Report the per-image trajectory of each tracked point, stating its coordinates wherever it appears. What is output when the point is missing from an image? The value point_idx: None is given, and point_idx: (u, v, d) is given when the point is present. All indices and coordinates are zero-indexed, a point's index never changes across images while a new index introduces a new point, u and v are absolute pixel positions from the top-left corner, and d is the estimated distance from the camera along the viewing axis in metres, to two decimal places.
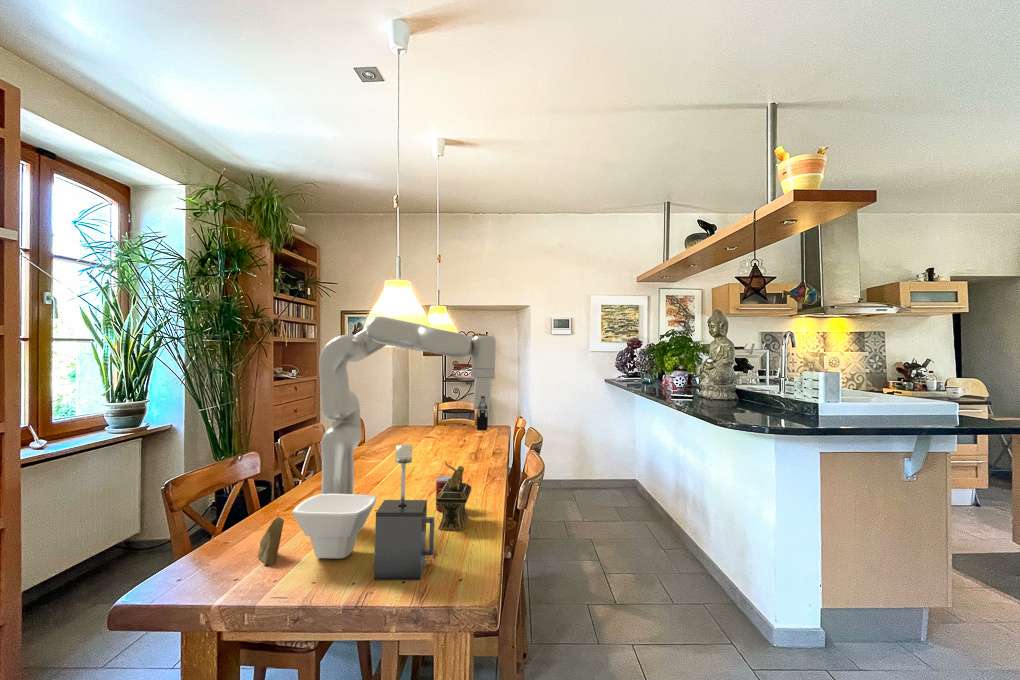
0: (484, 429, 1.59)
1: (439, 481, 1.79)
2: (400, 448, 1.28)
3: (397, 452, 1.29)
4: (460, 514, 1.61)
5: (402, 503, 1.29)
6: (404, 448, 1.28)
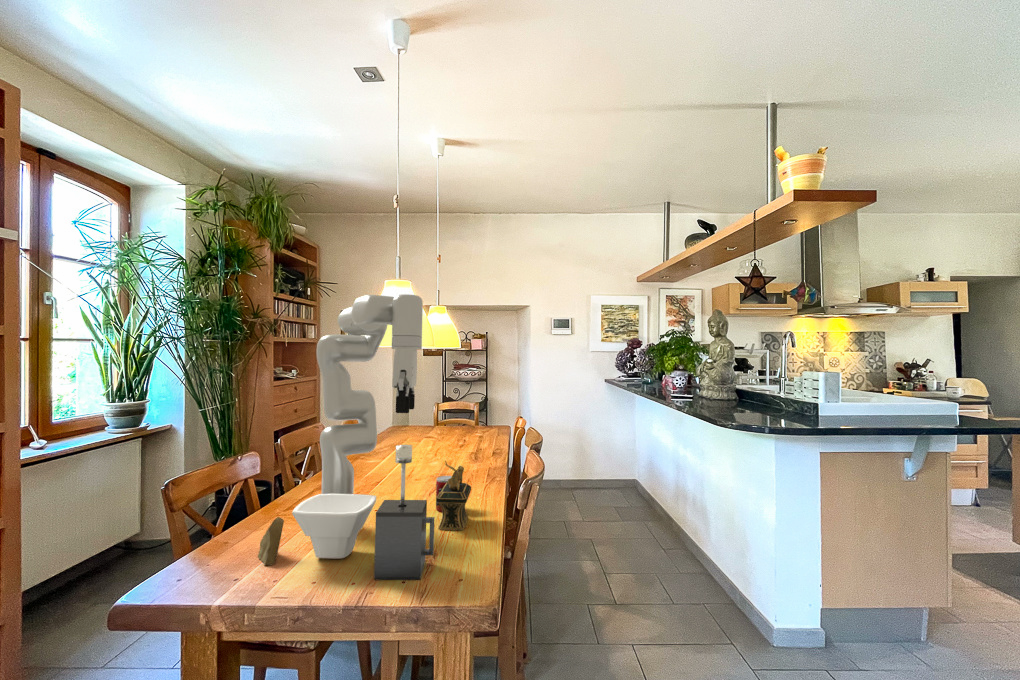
0: (405, 411, 1.25)
1: (439, 481, 1.79)
2: (400, 448, 1.28)
3: (397, 452, 1.29)
4: (460, 514, 1.61)
5: (402, 503, 1.29)
6: (404, 448, 1.28)
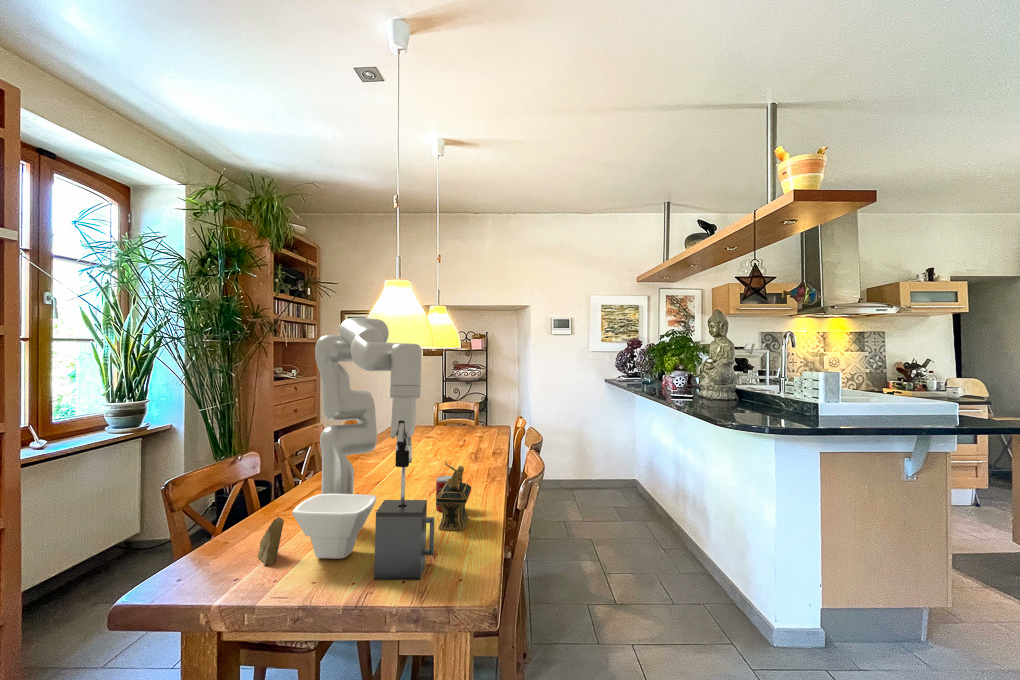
0: (405, 465, 1.27)
1: (439, 481, 1.79)
2: None
3: None
4: (460, 514, 1.61)
5: (402, 503, 1.29)
6: None
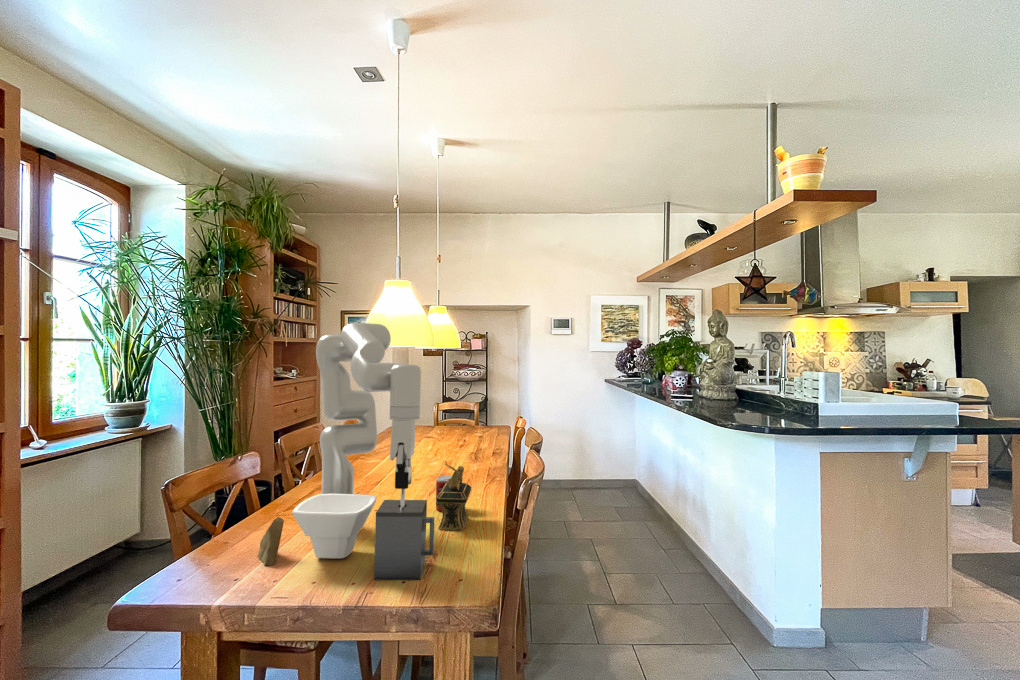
0: (404, 487, 1.27)
1: (439, 481, 1.79)
2: None
3: None
4: (460, 514, 1.61)
5: None
6: None
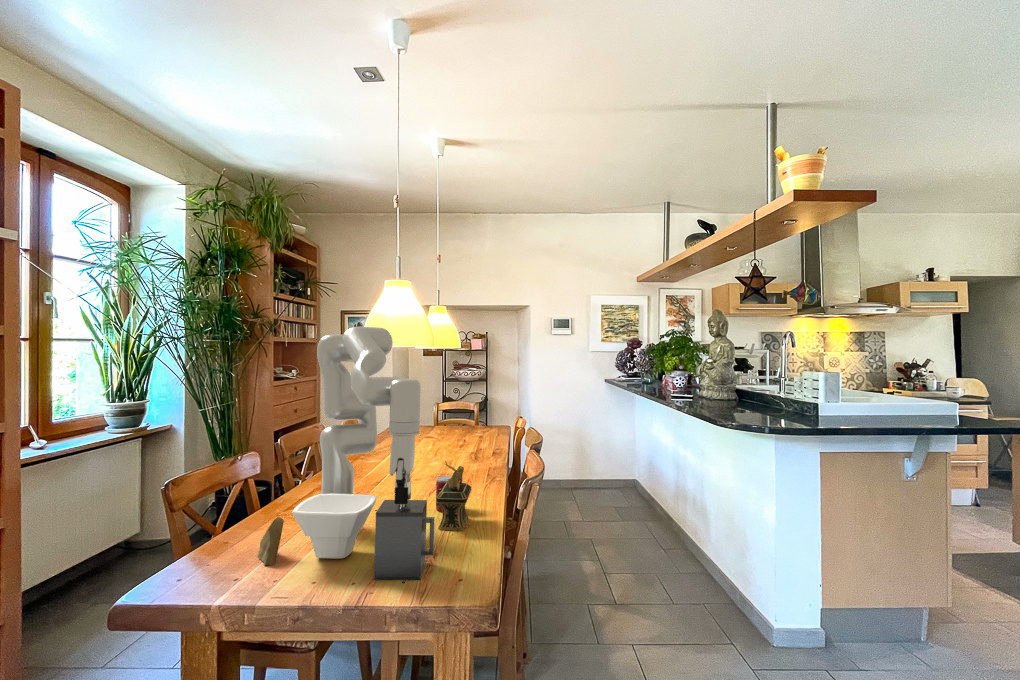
0: (404, 502, 1.27)
1: (439, 481, 1.79)
2: None
3: None
4: (460, 514, 1.61)
5: None
6: None
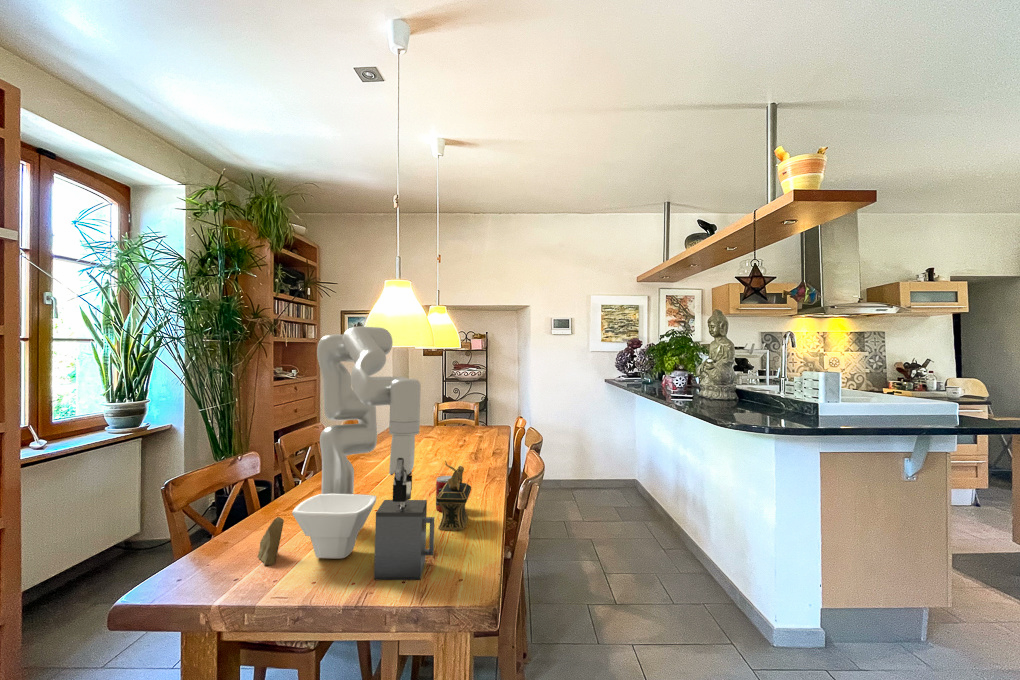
0: (402, 500, 1.25)
1: (439, 481, 1.79)
2: None
3: None
4: (460, 514, 1.61)
5: None
6: None
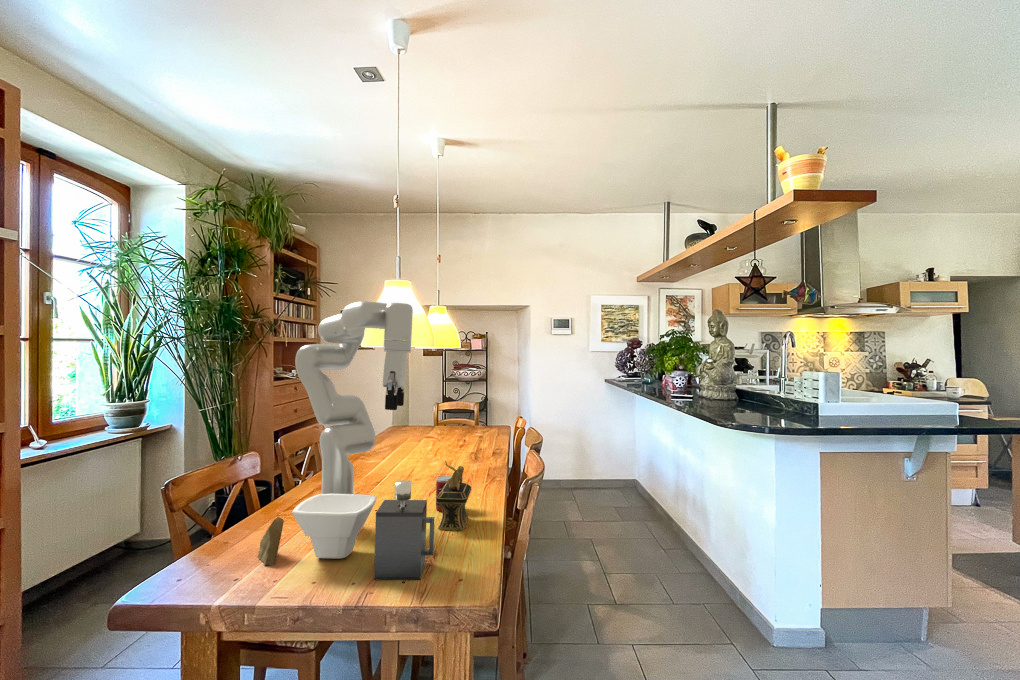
0: (393, 408, 1.40)
1: (439, 481, 1.79)
2: (399, 485, 1.28)
3: (396, 489, 1.28)
4: (460, 514, 1.61)
5: None
6: (403, 485, 1.28)
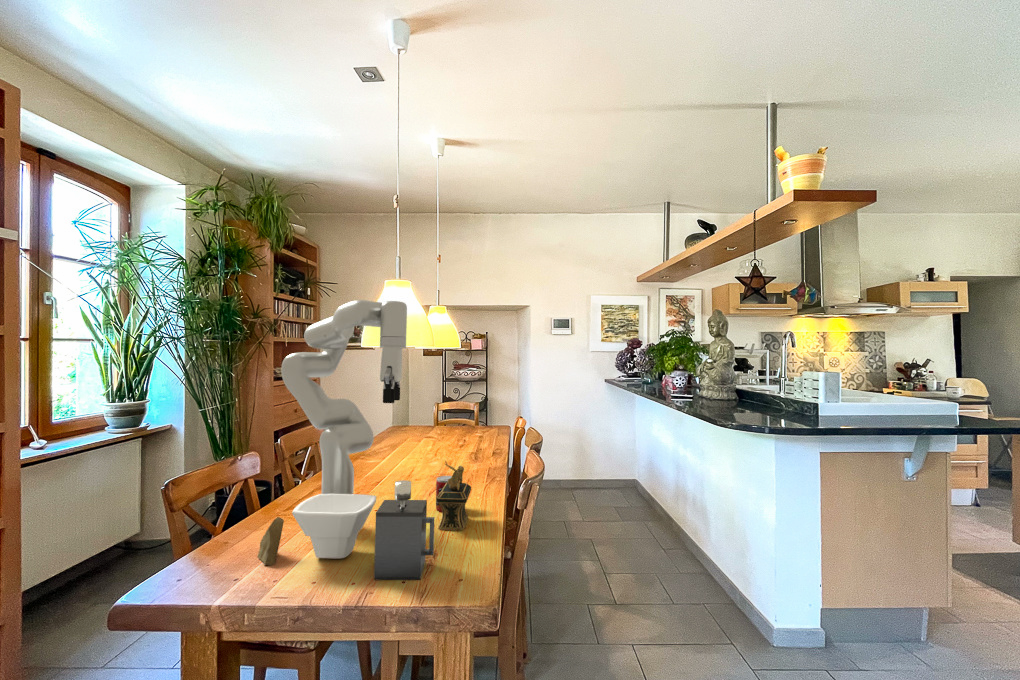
0: (391, 402, 1.46)
1: (439, 481, 1.79)
2: (399, 485, 1.28)
3: (396, 489, 1.28)
4: (460, 514, 1.61)
5: None
6: (403, 485, 1.28)
